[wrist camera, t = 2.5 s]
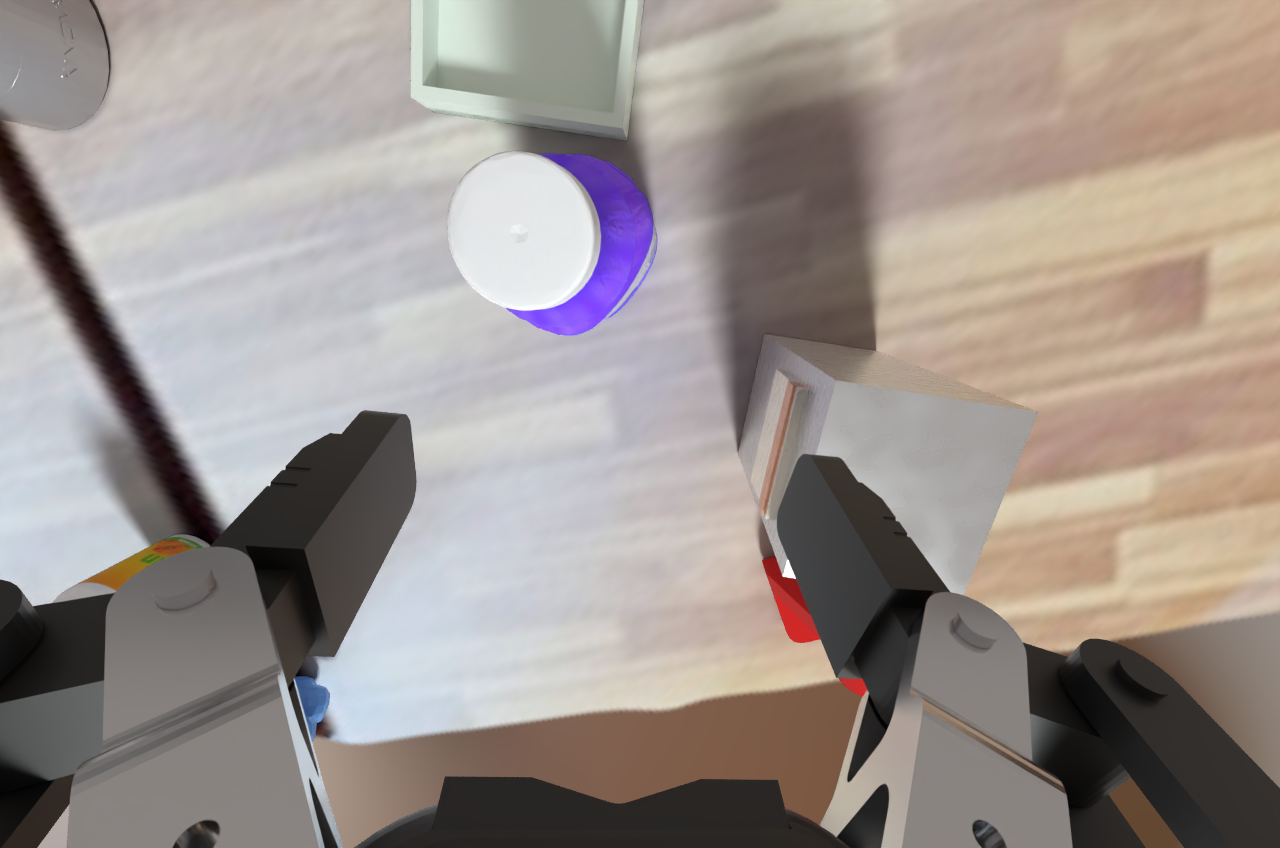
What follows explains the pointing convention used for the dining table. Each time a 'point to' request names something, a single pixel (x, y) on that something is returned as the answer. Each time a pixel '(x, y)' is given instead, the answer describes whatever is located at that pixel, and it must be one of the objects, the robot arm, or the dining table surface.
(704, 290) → the dining table surface
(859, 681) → the bracket
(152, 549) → the supplement bottle
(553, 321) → the bottle
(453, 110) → the tray
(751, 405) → the dispenser
